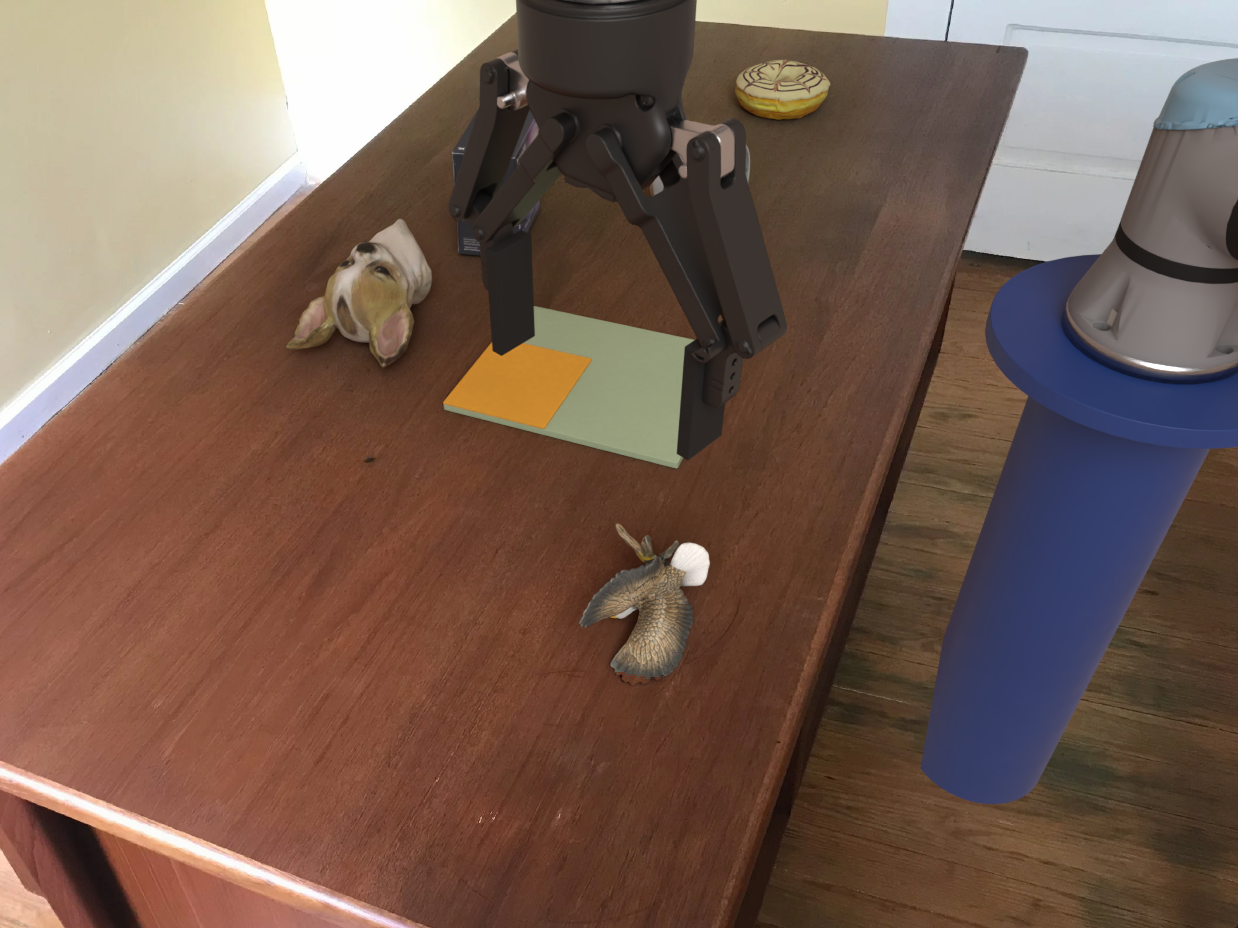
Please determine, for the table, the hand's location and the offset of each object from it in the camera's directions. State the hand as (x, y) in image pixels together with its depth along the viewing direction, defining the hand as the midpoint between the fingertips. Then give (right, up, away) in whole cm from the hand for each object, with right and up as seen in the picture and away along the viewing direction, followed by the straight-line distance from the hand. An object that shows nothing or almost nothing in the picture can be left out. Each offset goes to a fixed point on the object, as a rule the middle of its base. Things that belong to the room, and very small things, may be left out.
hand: (600, 391), depth 60 cm
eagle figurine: (+4, -14, +12) cm, 19 cm away
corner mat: (+2, +5, +32) cm, 32 cm away
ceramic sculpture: (-17, +11, +39) cm, 44 cm away
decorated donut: (+27, +43, +68) cm, 85 cm away
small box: (-6, +23, +50) cm, 56 cm away
